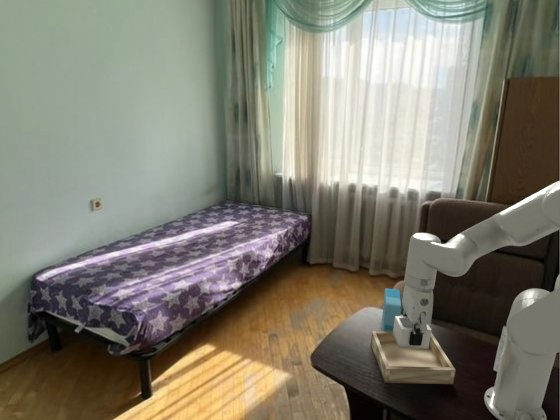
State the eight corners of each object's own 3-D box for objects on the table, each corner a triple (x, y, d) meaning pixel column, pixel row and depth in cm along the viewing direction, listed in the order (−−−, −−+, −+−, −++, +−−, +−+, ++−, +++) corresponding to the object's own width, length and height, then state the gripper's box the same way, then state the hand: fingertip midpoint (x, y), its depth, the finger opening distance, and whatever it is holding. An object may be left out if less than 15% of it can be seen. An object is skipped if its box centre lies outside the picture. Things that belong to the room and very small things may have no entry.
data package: (397, 340, 110) (401, 307, 107) (382, 338, 111) (385, 305, 108) (395, 319, 121) (399, 288, 118) (382, 317, 123) (385, 286, 119)
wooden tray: (452, 384, 93) (455, 370, 92) (384, 382, 93) (386, 368, 92) (429, 344, 109) (431, 332, 107) (370, 343, 109) (371, 331, 108)
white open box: (428, 348, 96) (431, 329, 95) (399, 347, 96) (401, 329, 95) (420, 334, 102) (423, 316, 100) (392, 333, 102) (395, 316, 100)
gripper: (448, 297, 85) (436, 358, 91) (421, 265, 102) (413, 319, 107) (417, 296, 85) (407, 358, 91) (395, 264, 102) (388, 318, 107)
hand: (410, 336), depth 99 cm, fingers closed on white open box, 6 cm apart
